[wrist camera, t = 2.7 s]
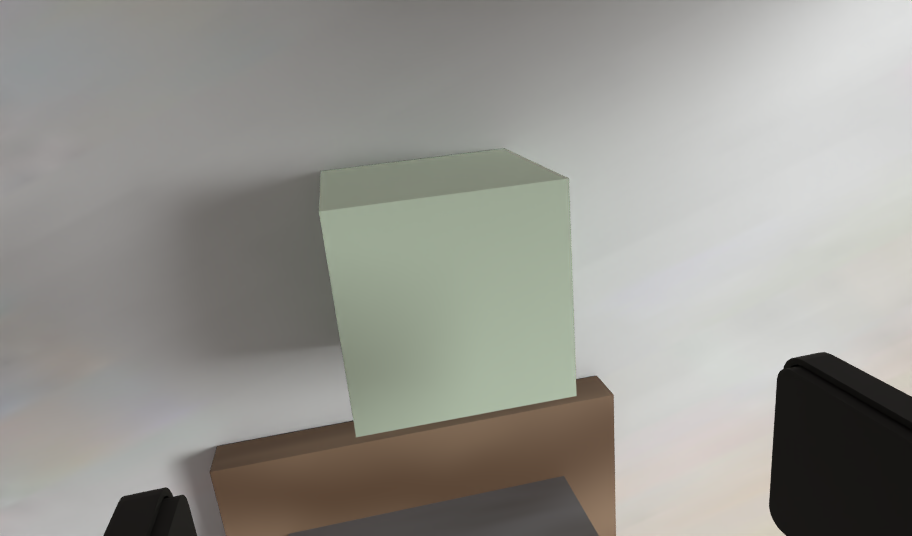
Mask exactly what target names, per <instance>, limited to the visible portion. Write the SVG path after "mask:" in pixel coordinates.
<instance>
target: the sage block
mask: <svg viewBox="0 0 912 536" xmlns="http://www.w3.org/2000/svg"><path fill="white" fill-rule="evenodd" d="M319 216H320V222H321V228H322V234H323V240H324V246H325V252H326V258H327V264H328V270H329V276H330V282H331V288H332V294H333V300H334V307H335V313H336V319H337V325H338V331H339V337H340V343H341V349H342V355H343V361H344V367H345V373H346V379H347V385H348V391H349V397H350V403H351V409H352V415H353V421H354V427H355V433H356V437H361V436H366V435H372V434H377V433H382V432H388V431H393V430H398V429H403V428H409V427H414V426H419V425H425V424H430V423H435V422H441V421H446V420H451V419H457V418H462V417H467V416H473V415H478V414H483V413H489V412H494V411H499V410H504V409H510V408H515V407H520V406H526V405H531V404H536V403H542V402H547V401H552V400H558V399H563V398H568V397H574V396H577V394H576V366H575V337H574V309H573V281H572V252H571V224H570V195H569V178H567V177H565V176H562V175H560V174H558V173H556V172H554V171H552V170H550V169H547V168H545V167H543V166H541V165H539V164H537V163H535V162H532V161H530V160H528V159H526V158H524V157H522V156H520V155H517V154H515V153H513V152H511V151H509V150H507V149H505V148H504V149H496V150H488V151H480V152H472V153H463V154H455V155H447V156H439V157H431V158H423V159H415V160H406V161H398V162H390V163H382V164H374V165H366V166H358V167H349V168H341V169H333V170H325V171H321V175H320V196H319Z"/></svg>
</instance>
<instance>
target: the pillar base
mask: <svg viewBox="0 0 912 536" xmlns="http://www.w3.org/2000/svg"><path fill="white" fill-rule="evenodd" d="M576 394H577V396H574V397H568V398H563V399H558V400H552V401H547V402H542V403H536V404H531V405H526V406H520V407H515V408H510V409H504V410H499V411H494V412H489V413H483V414H478V415H473V416H467V417H462V418H457V419H451V420H446V421H441V422H435V423H430V424H425V425H419V426H414V427H409V428H403V429H398V430H393V431H388V432H382V433H377V434H372V435H366V436H361V437H356V433H355V427H354V421H351V422H346V423H340V424H335V425H329V426H324V427H319V428H313V429H308V430H303V431H297V432H292V433H286V434H281V435H276V436H270V437H265V438H259V439H254V440H249V441H243V442H238V443H233V444H227V445H222V446H217V448H216V452H215V455H214V459H213V462H212V466H211V470H210V475H211V479H212V483H213V487H214V491H215V495H216V498H217V502H218V506H219V510H220V514H221V518H222V522H223V526H224V529H225V533H226V536H616V518H615V455H614V395H613V394H612V392H611V391H610V390H609V389H608V388H607V387H606V386H605V385H604V383H603V382H602V381H601V380H600V379H599V378H598V377H597V376H593V377H587V378H582V379H577V380H576Z"/></svg>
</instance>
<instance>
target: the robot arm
mask: <svg viewBox="0 0 912 536" xmlns="http://www.w3.org/2000/svg"><path fill="white" fill-rule="evenodd" d="M769 509H770V513H771V516H772V518H773V520H774V522H775V524H776V525H777V527H778V528H779V529H780V530H781V531H782V532H783V533H784V534H785V535H786V536H912V397H911V396H909V395H907V394H905V393H904V392H902V391H900V390H898V389H896V388H894V387H892V386H890V385H888V384H886V383H885V382H883V381H881V380H879V379H877V378H875V377H873V376H871V375H869V374H867V373H866V372H864V371H862V370H860V369H858V368H856V367H854V366H852V365H850V364H848V363H847V362H845V361H843V360H841V359H839V358H837V357H835V356H833V355H831V354H829V353H826V352H822V353H815V354H810V355H806V356H801V357H796V358H791V359H790V360H788V361H787V362H786V364H785V365H784V369H783V370H781V371H780V372H779V374H778V377H777V389H776V404H775V420H774V436H773V452H772V468H771V483H770V499H769ZM104 536H197V534H196V530H195V526H194V522H193V519H192V515H191V511H190V508H189V504H188V501H187V499H186V497H185V496H184V495H179V496H175V497H173V495H172V493H171V491H170V490H169V489H168V488H161V489H156V490H151V491H146V492H141V493H137V494H132V495H127V496H124V497H122V498H121V499H120V501H119V502H118V505H117V507H116V509H115V511H114V513H113V516H112V518H111V520H110V522H109V524H108V527H107V529H106V531H105V533H104Z"/></svg>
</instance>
